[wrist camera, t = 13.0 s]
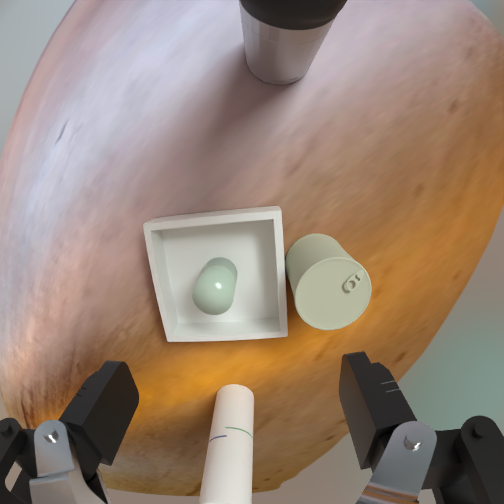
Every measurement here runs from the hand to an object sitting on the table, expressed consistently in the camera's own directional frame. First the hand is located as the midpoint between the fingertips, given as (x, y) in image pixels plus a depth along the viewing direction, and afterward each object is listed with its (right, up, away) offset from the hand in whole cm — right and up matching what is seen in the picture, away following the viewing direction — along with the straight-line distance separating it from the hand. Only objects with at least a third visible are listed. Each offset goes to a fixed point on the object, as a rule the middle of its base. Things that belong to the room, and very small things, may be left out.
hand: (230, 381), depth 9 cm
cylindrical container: (-2, -23, +40) cm, 47 cm away
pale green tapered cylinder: (-4, +1, +32) cm, 32 cm away
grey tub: (-4, +2, +33) cm, 33 cm away
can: (+10, +3, +33) cm, 34 cm away
